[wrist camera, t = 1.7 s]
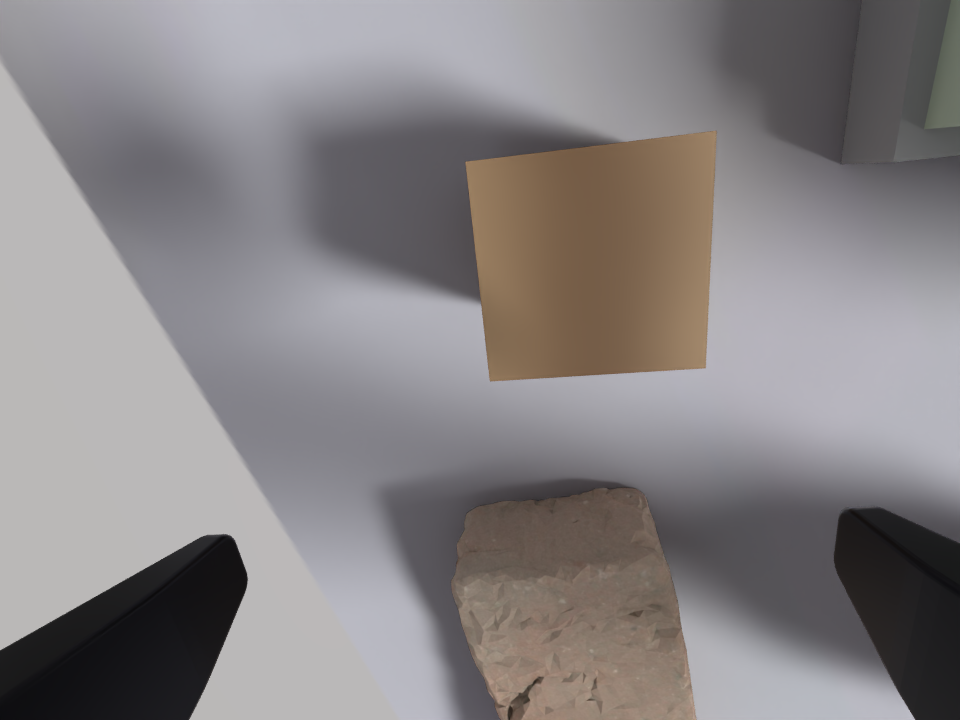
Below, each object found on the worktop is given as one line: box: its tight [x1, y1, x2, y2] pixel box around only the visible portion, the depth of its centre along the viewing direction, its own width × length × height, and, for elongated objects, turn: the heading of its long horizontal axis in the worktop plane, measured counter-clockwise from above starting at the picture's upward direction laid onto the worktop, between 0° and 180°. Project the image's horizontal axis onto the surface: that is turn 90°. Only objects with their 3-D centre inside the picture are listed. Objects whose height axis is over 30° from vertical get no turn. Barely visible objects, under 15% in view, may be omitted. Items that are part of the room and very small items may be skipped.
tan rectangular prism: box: [465, 131, 717, 381], centre depth 14 cm, size 5×5×7 cm
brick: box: [451, 488, 696, 720], centre depth 22 cm, size 17×8×5 cm, turn 15°
